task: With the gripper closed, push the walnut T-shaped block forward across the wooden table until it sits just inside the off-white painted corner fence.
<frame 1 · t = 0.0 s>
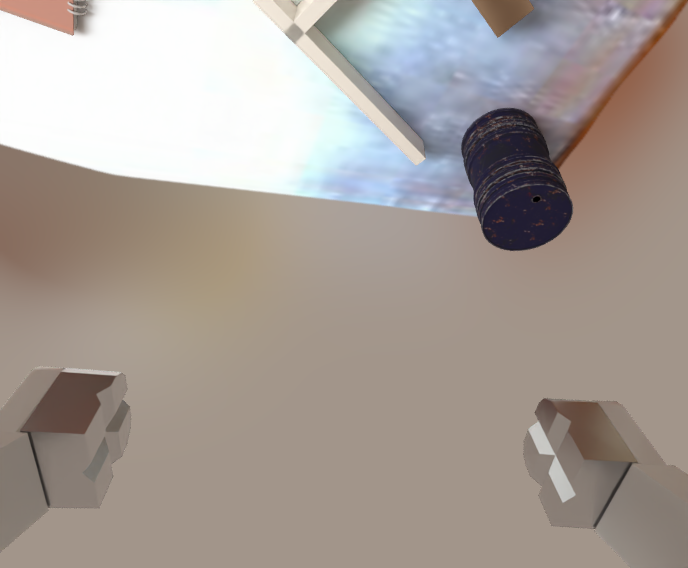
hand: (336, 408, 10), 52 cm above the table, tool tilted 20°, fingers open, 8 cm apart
corner fence: (349, 72, 58), on the table
rusty oil barrel: (498, 141, 65), on the table
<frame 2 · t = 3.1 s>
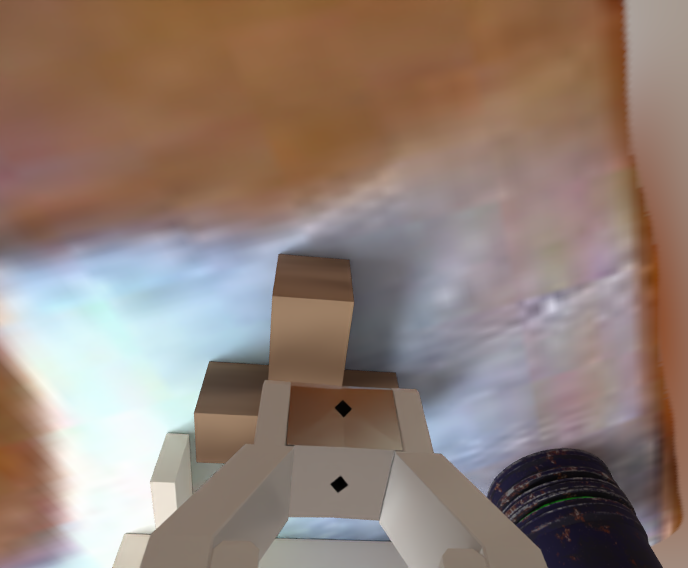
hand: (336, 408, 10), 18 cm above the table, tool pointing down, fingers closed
corner fence: (287, 544, 42), on the table
rusty oil barrel: (547, 489, 40), on the table
t block: (306, 342, 32), on the table
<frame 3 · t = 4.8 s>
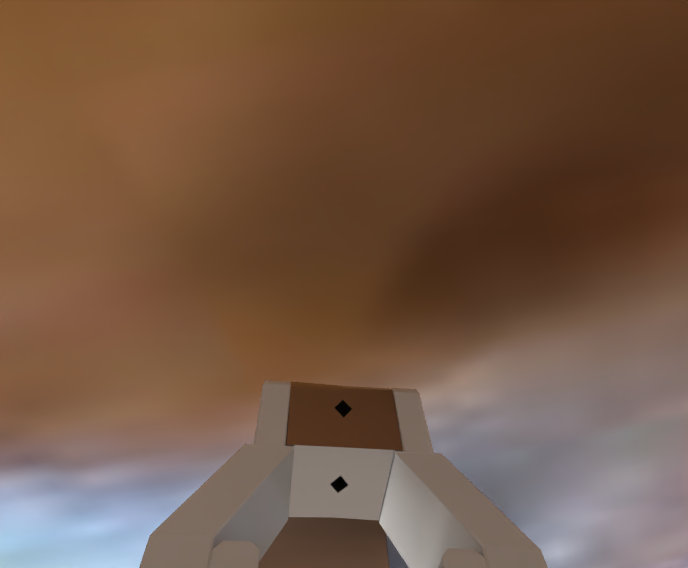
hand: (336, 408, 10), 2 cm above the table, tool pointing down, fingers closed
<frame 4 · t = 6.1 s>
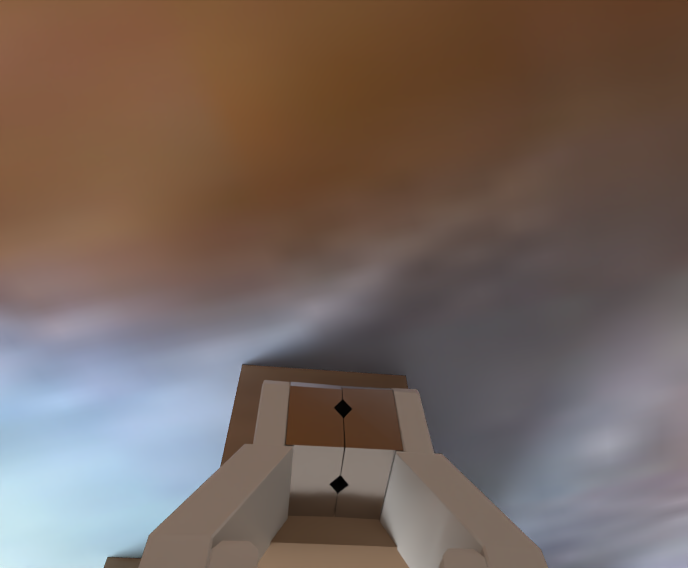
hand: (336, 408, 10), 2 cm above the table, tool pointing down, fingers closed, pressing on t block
t block: (305, 524, 15), on the table, touching gripper
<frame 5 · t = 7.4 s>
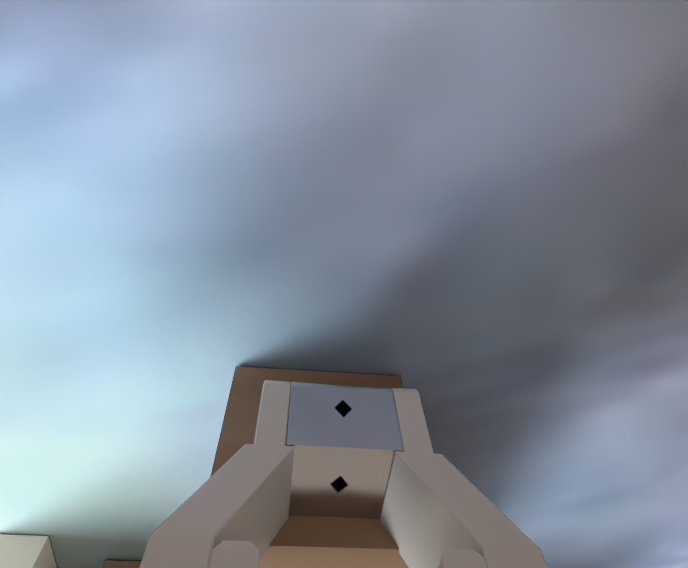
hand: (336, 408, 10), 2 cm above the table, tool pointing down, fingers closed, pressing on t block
t block: (302, 526, 15), on the table, touching gripper
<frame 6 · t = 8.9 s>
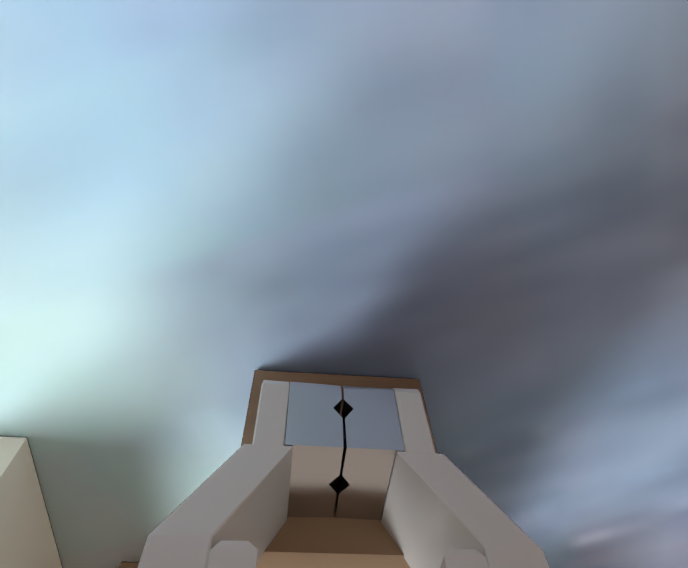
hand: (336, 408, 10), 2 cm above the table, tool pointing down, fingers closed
t block: (318, 528, 15), on the table, touching gripper
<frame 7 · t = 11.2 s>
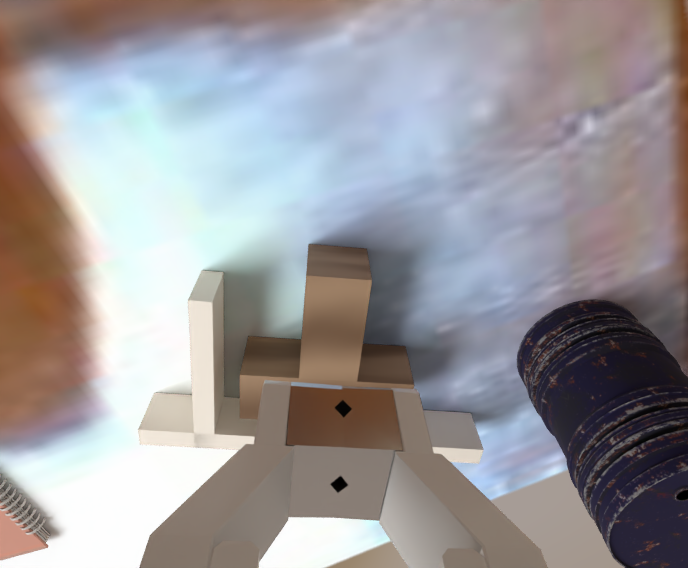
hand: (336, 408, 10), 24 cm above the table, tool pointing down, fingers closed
corner fence: (315, 409, 42), on the table
rusty oil barrel: (577, 350, 40), on the table
t block: (330, 319, 38), on the table
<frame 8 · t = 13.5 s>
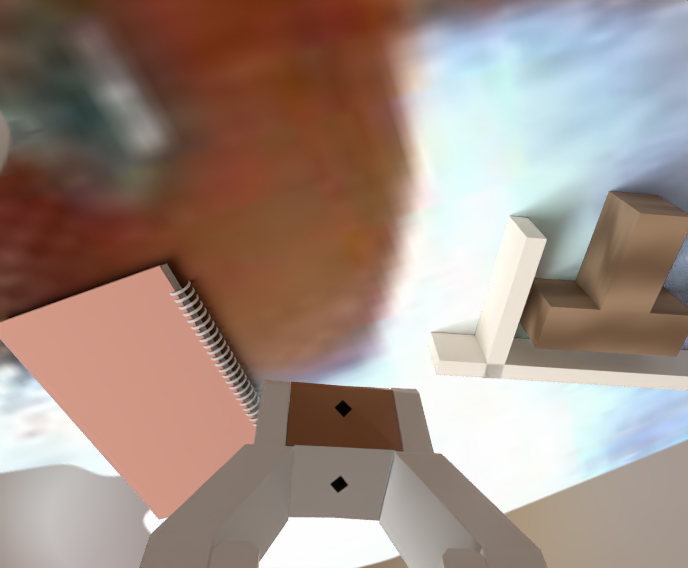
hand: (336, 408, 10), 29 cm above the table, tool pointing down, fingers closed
corner fence: (567, 348, 47), on the table
notebook: (169, 397, 49), on the table
t block: (606, 261, 42), on the table
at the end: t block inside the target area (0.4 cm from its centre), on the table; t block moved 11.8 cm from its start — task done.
